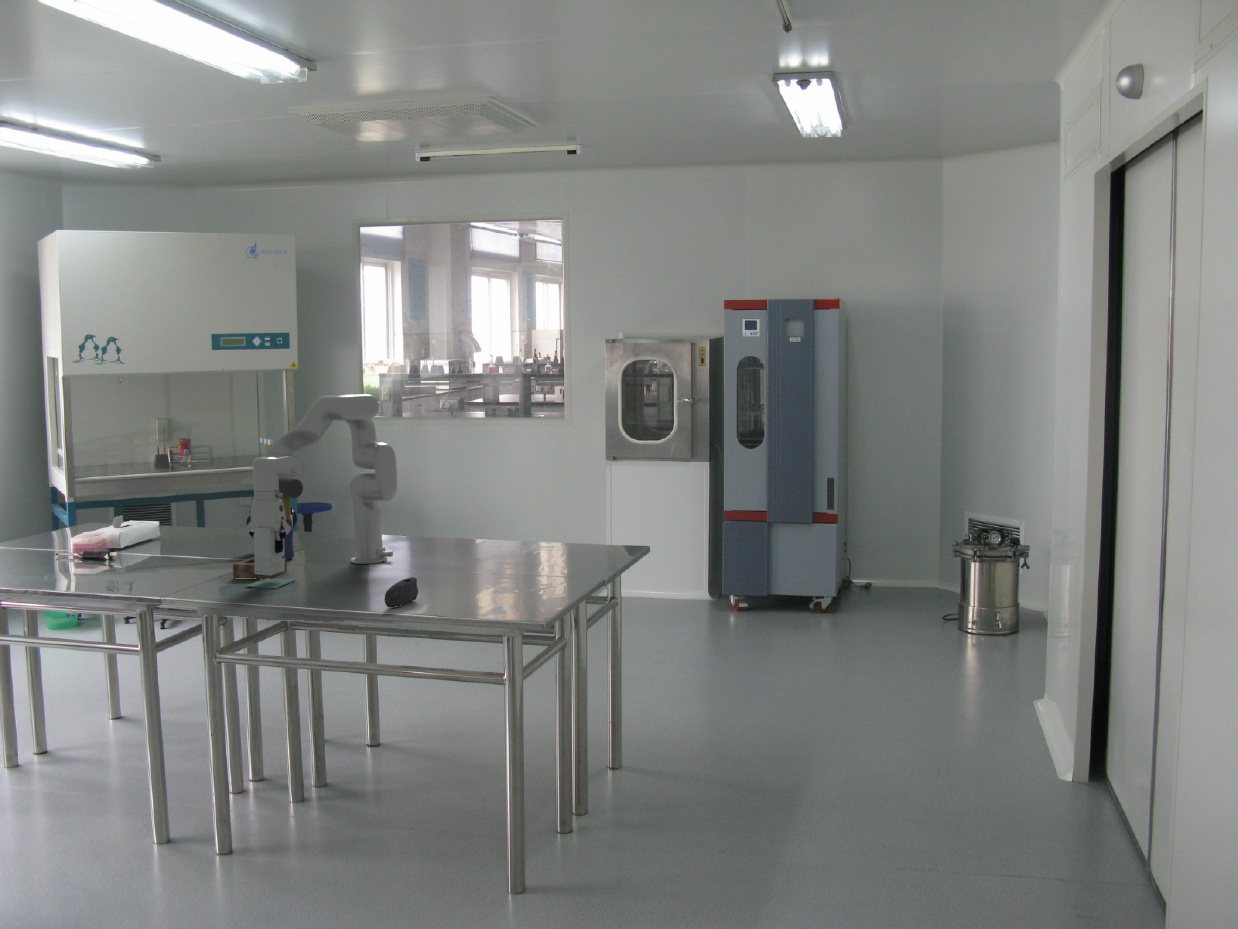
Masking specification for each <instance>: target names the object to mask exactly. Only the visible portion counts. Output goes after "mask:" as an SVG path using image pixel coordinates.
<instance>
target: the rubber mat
mask: <svg viewBox="0 0 1238 929" xmlns="http://www.w3.org/2000/svg"><path fill="white" fill-rule="evenodd" d="M293 581H295V582H296V579H293V578H291V579H290V578H289V579H288V578H270V579H262V580H256V581H254V582H252V583H250V584H247V585H245V588H246V587H280V586H282V585H285V584H287V583H289V582H292V583H294V582H293ZM285 586H286V585H285Z"/></svg>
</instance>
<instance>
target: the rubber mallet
mask: <svg viewBox="0 0 1238 929" xmlns="http://www.w3.org/2000/svg"><path fill="white" fill-rule="evenodd" d="M279 491H280V493H283V496H282V497H281V498H282V499H281V500H282V502H283V505H284V510H285V516H286V523H287V524H288V525H289V526H290V527H291V528H292V530H291V531H290V532H289V533H288V534H287V535H286V537H285V538H284V556H285V557H286V561H289V559H291V560H293V558H294V557H295V552H294V544H293V543H294V540H293V537H294V528H293V527H292V521H291V515H290V507H291V502H290V501H291V499H294V498H298V497H300V496H301V495H302V494H303V491H304V486H303V483H302V481H301V480H300V479H298V478H296V477H294V478H279ZM284 530H285V529H284Z"/></svg>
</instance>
